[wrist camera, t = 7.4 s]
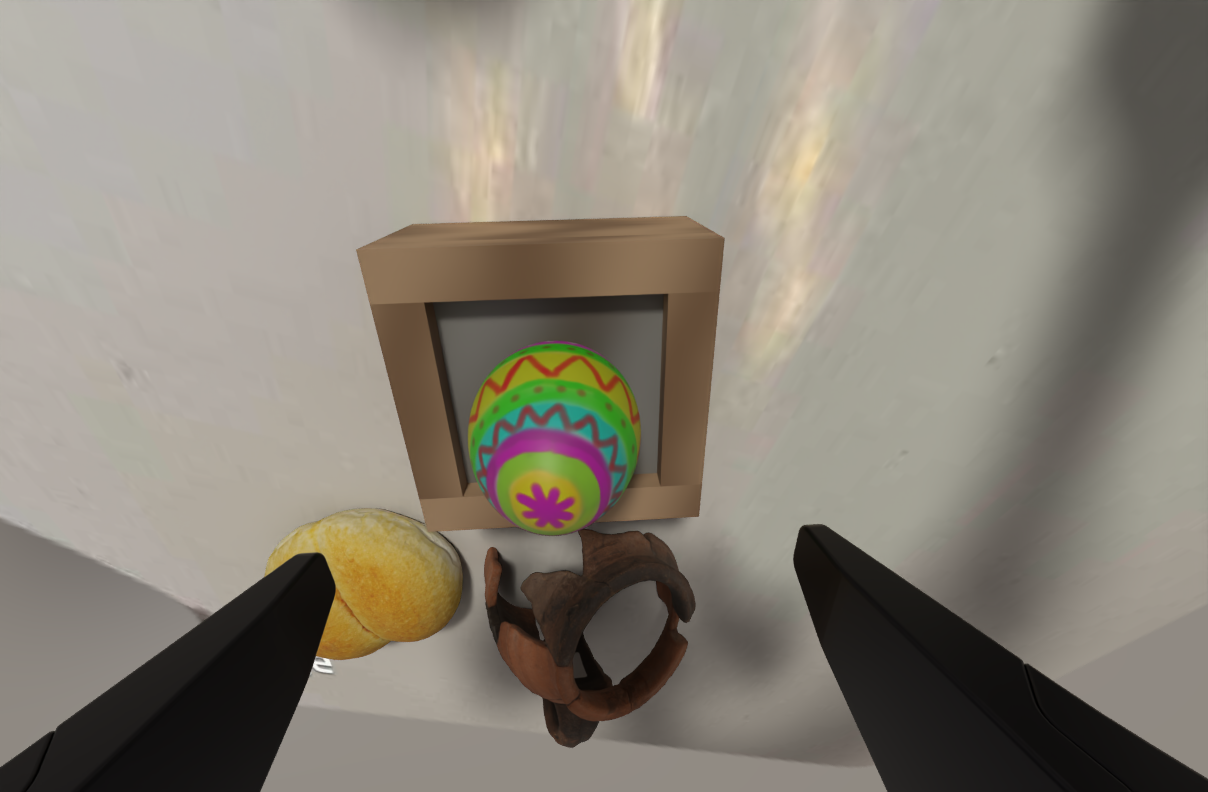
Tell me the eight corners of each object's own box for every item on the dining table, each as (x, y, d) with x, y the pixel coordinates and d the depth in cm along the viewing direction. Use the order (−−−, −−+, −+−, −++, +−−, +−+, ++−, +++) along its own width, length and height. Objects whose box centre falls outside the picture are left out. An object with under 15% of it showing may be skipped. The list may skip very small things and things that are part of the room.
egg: (488, 453, 17) (449, 592, 12) (478, 320, 15) (424, 416, 9) (626, 454, 17) (649, 589, 12) (636, 324, 15) (671, 419, 10)
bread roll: (490, 592, 26) (477, 661, 23) (343, 630, 27) (308, 703, 24) (421, 478, 23) (393, 540, 19) (253, 527, 23) (195, 594, 20)
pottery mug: (466, 496, 24) (531, 584, 17) (624, 466, 28) (725, 525, 22) (472, 699, 26) (530, 848, 19) (616, 641, 31) (704, 742, 24)
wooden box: (686, 216, 18) (724, 238, 13) (673, 443, 22) (698, 516, 18) (412, 224, 17) (356, 249, 13) (457, 454, 22) (427, 531, 17)
